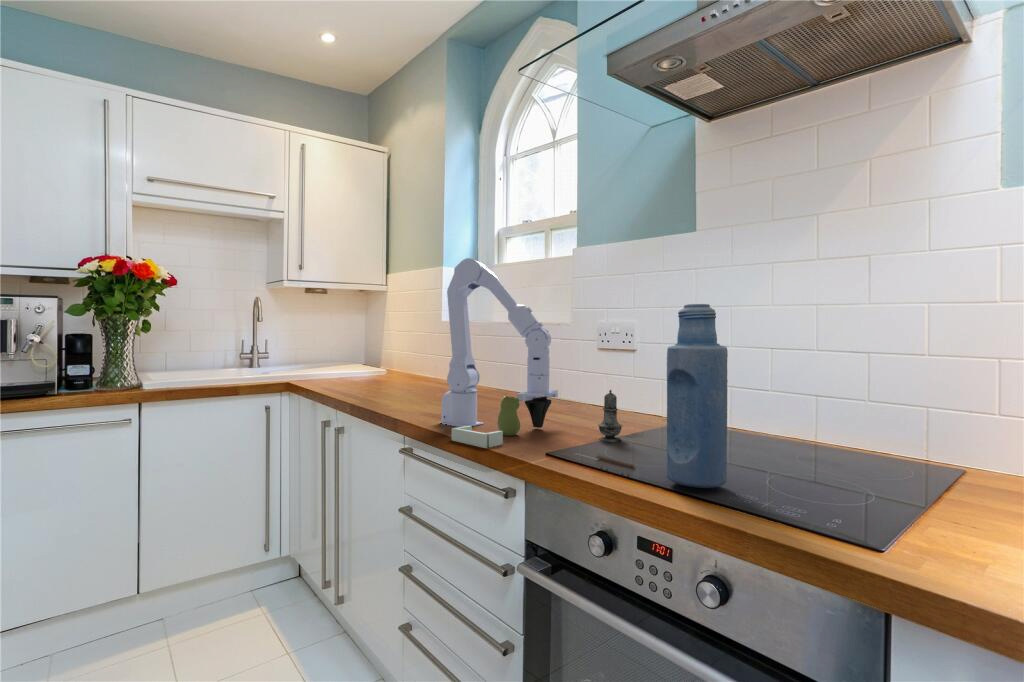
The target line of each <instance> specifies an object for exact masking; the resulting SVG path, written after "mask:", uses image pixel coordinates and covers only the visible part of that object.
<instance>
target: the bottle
mask: <svg viewBox="0 0 1024 682" xmlns="http://www.w3.org/2000/svg"><path fill="white" fill-rule="evenodd" d="M677 314H678V315H677V317H678V324H679V325H678V330H677V331H678V332H677V336H676V337H677V341H676V343H675V344H674V345H670V346H668V347H667V351H666V478H667V479H668V480H669V481H671V482H672V483H674V484H677V485H681V486H685V487H693V488H700V489H701V488H702V489H703V488H704V489H708V488H718V487H722V486H724V485H725V484H727V478H728V476H727V473H728V471H727V467H728V466H727V465H728V463H727V462H728V460H727V454H728V453H727V448H728V447H727V446H728V442H727V441H728V440H727V439H728V438H727V437H728V358H729V357H728V356H729V355H728V354H729V353H728V348H727V346H724V345H721V344H720V343H718V335H717V329H716V318H717V313H716V311H715V308H712V307H711V306H710V304H709V303H691V304H690V303H689V304H688V303H687V304H685V305H683V308H681V309H680V310H679V311H678V312H677Z"/></svg>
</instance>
